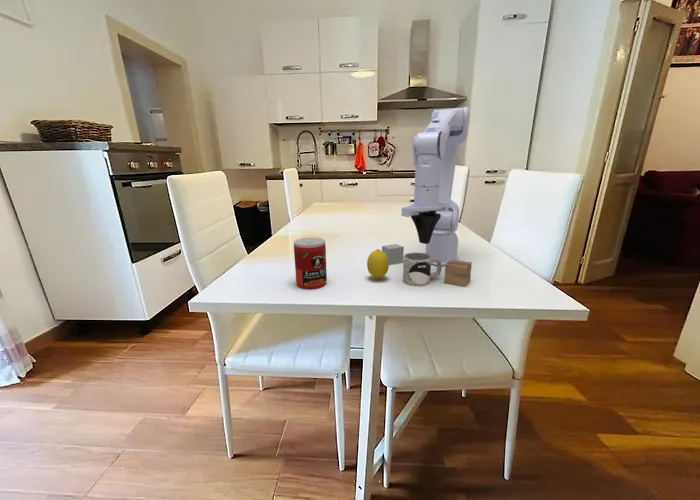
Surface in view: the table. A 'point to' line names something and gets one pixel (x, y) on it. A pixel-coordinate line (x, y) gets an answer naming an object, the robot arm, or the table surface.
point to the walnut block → (457, 272)
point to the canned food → (310, 262)
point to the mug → (419, 269)
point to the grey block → (394, 253)
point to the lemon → (377, 263)
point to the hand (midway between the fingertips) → (424, 242)
